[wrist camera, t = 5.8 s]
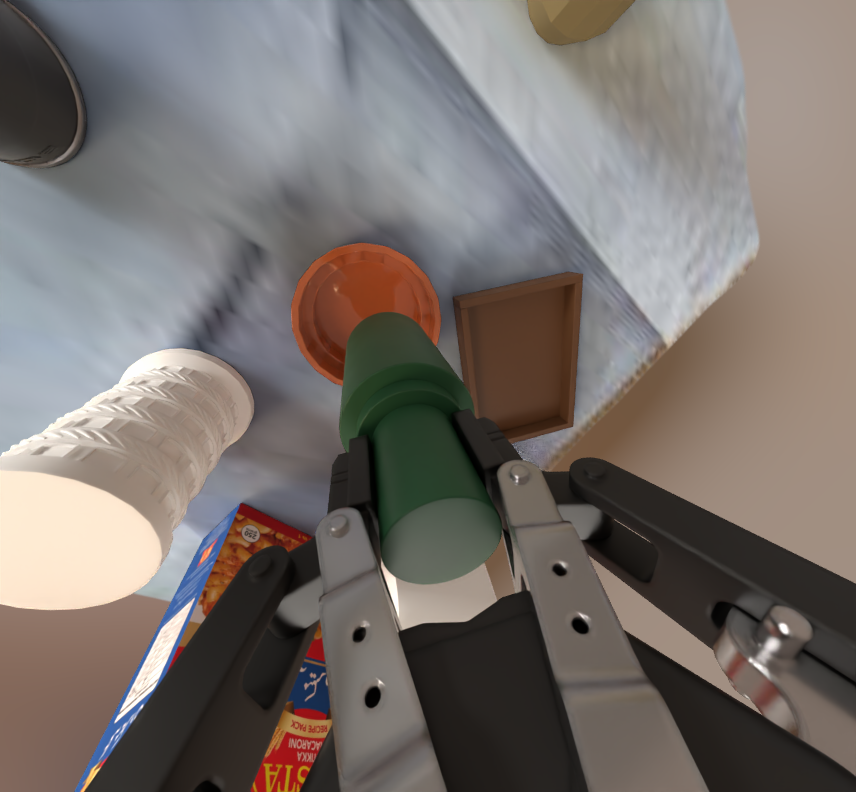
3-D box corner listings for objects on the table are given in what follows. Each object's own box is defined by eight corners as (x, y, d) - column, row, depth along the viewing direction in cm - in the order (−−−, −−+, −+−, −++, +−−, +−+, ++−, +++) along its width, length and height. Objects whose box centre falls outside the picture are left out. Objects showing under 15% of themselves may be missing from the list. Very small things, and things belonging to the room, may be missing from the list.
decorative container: (247, 351, 32) (140, 460, 16) (260, 445, 37) (187, 599, 21) (110, 344, 29) (-181, 469, 13) (143, 447, 34) (-40, 626, 18)
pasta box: (395, 577, 52) (430, 872, 28) (362, 603, 54) (368, 907, 29) (241, 502, 40) (56, 924, 15) (203, 539, 41) (-23, 982, 17)
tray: (452, 296, 34) (459, 301, 31) (568, 271, 35) (583, 273, 33) (471, 441, 43) (477, 452, 41) (562, 417, 44) (573, 426, 42)
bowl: (279, 258, 29) (265, 261, 24) (417, 231, 30) (428, 229, 26) (325, 384, 35) (320, 404, 31) (438, 357, 36) (449, 373, 32)
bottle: (334, 322, 21) (289, 496, 7) (422, 303, 21) (548, 425, 7) (359, 399, 24) (363, 635, 10) (435, 381, 24) (545, 576, 10)
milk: (455, 475, 45) (556, 716, 22) (420, 531, 49) (476, 787, 26) (378, 454, 41) (406, 727, 18) (345, 516, 44) (335, 810, 22)
